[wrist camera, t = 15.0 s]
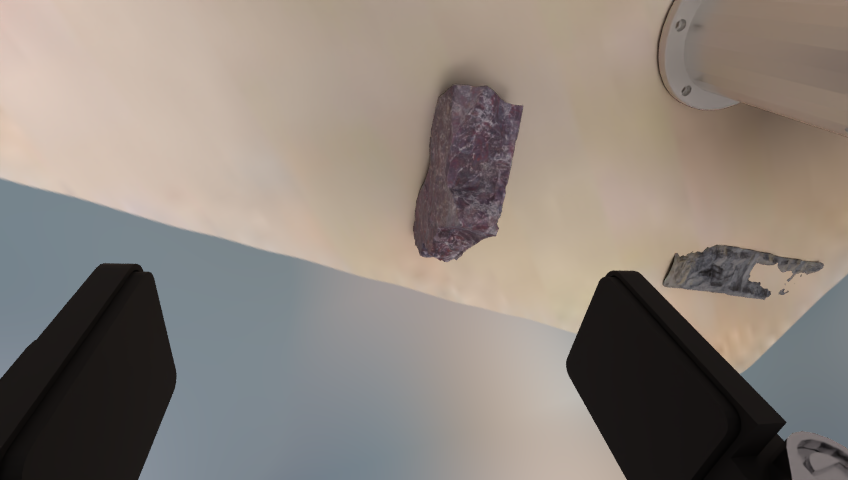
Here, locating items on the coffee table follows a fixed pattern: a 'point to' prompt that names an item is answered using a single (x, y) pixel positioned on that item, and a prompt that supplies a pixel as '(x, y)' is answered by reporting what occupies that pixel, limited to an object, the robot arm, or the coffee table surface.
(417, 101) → the coffee table surface
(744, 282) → the grey flat jagged piece
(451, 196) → the stone
